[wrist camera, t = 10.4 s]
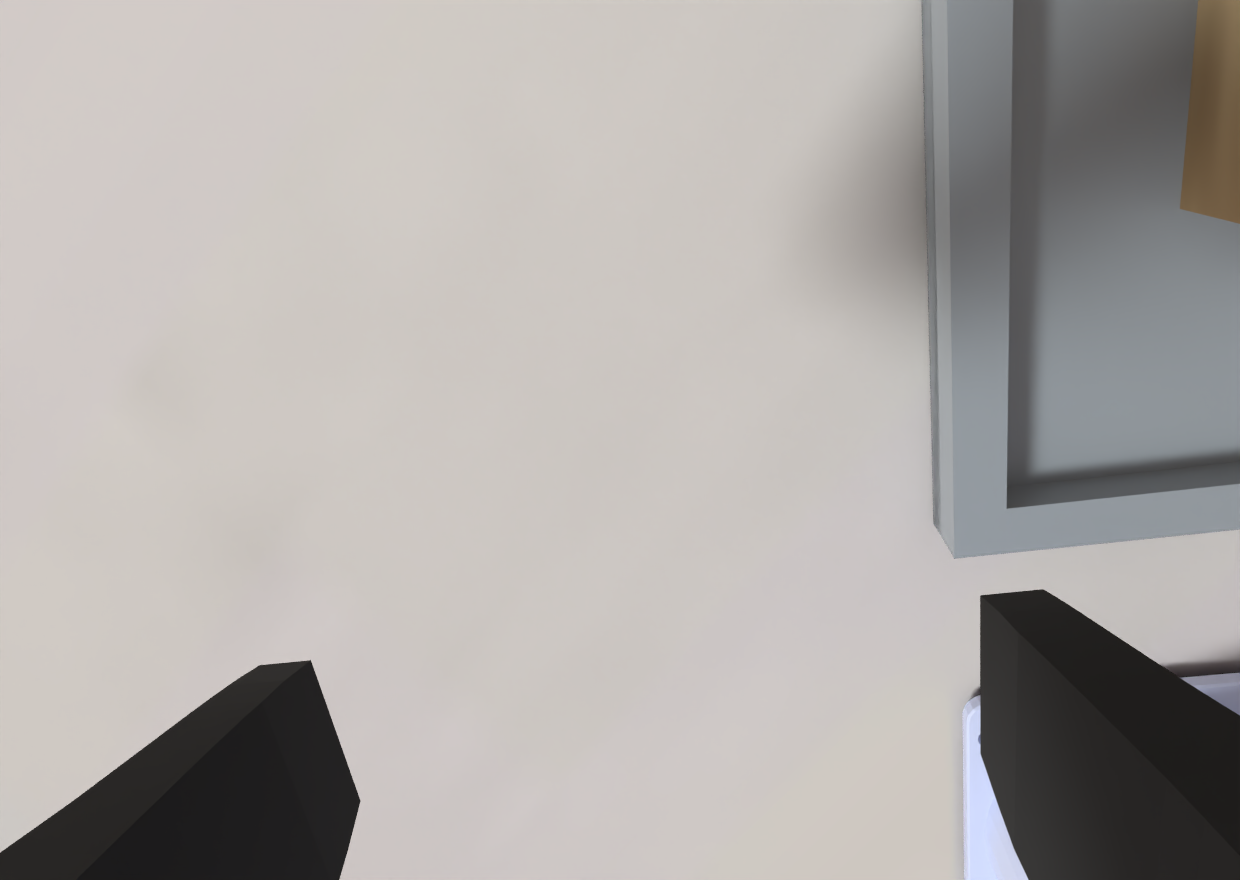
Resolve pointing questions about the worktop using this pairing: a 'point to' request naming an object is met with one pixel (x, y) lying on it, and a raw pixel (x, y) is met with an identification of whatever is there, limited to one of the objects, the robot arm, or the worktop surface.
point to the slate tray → (1073, 281)
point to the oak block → (1214, 114)
